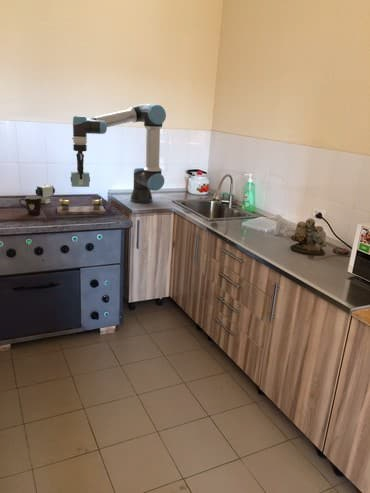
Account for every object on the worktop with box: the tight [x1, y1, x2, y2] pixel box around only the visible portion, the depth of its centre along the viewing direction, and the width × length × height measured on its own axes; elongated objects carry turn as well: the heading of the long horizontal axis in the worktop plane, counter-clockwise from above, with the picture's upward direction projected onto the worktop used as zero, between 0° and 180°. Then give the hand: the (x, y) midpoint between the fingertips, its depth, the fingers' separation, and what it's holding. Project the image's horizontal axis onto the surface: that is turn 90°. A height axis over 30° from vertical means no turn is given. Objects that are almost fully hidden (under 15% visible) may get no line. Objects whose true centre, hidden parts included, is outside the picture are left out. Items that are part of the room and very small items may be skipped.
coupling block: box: [70, 171, 91, 188], centre depth 251 cm, size 11×5×8 cm, turn 108°
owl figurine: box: [289, 217, 327, 257], centre depth 210 cm, size 18×12×17 cm, turn 78°
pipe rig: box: [58, 198, 103, 210], centre depth 255 cm, size 25×4×6 cm, turn 109°
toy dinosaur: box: [265, 213, 297, 237], centre depth 235 cm, size 7×24×11 cm, turn 65°
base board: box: [55, 205, 107, 216], centre depth 256 cm, size 28×13×2 cm, turn 109°
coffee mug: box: [18, 195, 42, 217], centre depth 242 cm, size 12×9×10 cm
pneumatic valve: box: [35, 183, 56, 205], centre depth 269 cm, size 6×12×12 cm, turn 146°
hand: (80, 183), depth 252 cm, fingers closed on coupling block, 5 cm apart
